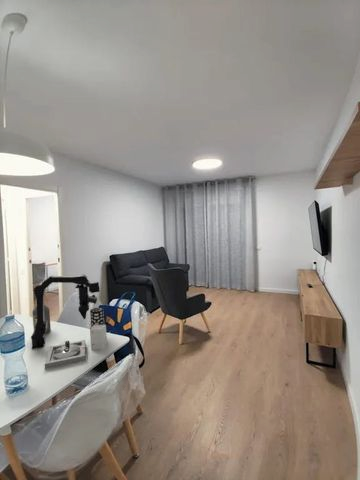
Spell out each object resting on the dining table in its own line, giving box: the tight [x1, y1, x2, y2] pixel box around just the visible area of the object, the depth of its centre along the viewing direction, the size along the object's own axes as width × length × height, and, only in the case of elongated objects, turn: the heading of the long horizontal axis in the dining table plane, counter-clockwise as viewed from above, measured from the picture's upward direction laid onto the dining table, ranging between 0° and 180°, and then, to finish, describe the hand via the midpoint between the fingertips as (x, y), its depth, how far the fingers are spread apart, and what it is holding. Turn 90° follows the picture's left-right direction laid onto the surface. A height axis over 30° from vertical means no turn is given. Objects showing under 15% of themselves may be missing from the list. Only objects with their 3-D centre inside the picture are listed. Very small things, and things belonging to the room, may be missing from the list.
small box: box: [89, 324, 108, 351], centre depth 149 cm, size 8×6×13 cm
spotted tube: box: [89, 307, 105, 328], centre depth 159 cm, size 8×8×20 cm
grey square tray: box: [44, 339, 87, 370], centre depth 140 cm, size 20×20×3 cm
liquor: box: [32, 304, 52, 336], centre depth 171 cm, size 9×9×30 cm
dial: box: [53, 340, 80, 360], centre depth 140 cm, size 14×14×4 cm
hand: (84, 316), depth 162 cm, fingers open, 9 cm apart
